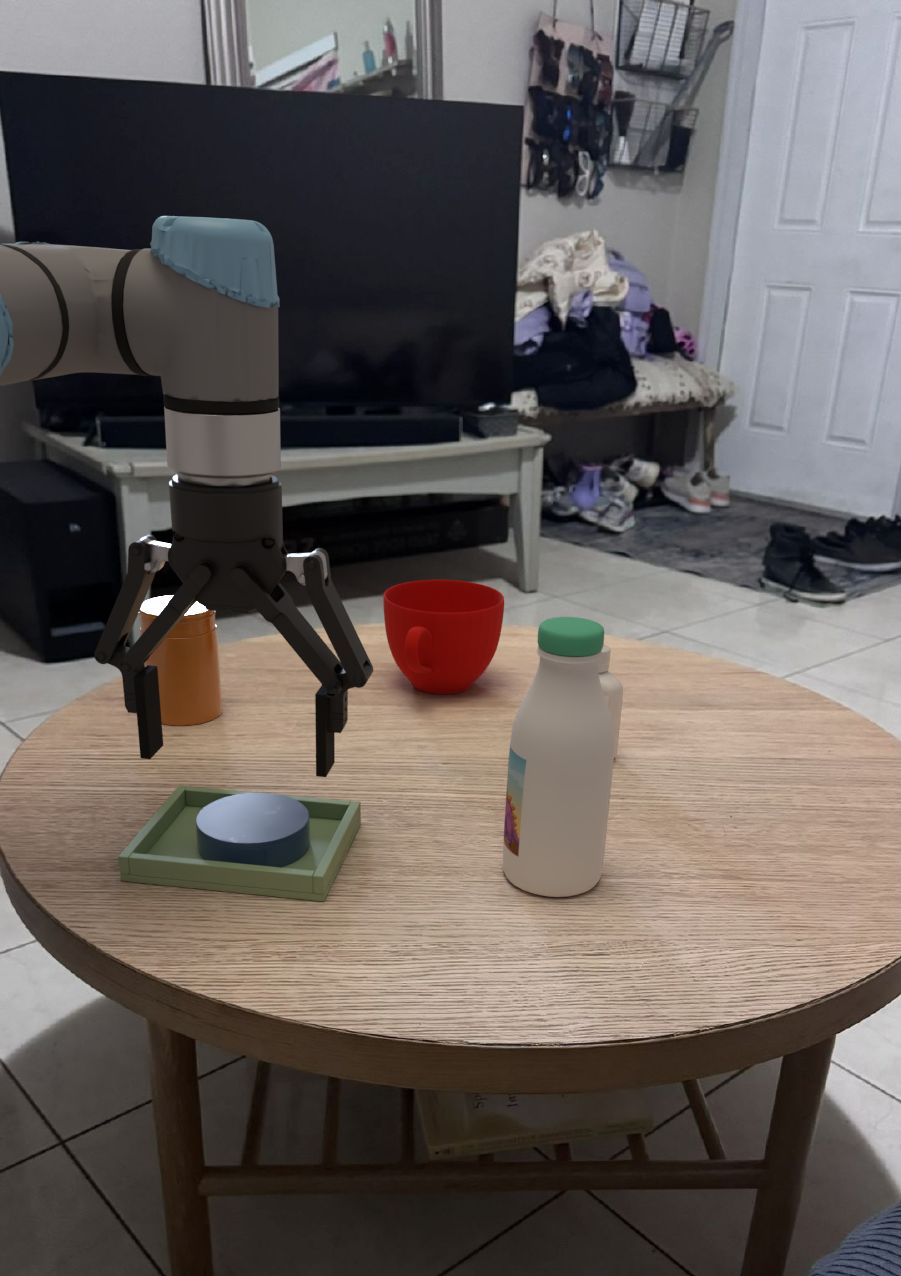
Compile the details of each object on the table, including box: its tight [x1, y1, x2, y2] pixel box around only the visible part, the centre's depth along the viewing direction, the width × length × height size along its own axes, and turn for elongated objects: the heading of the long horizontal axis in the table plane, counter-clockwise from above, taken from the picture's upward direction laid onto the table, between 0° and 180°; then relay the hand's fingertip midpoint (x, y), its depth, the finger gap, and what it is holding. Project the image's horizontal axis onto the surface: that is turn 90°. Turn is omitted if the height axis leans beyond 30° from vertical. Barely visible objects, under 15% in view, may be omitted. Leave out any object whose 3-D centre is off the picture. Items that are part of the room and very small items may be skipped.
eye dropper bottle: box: [598, 642, 624, 759], centre depth 105 cm, size 4×6×12 cm
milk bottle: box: [502, 616, 615, 898], centre depth 82 cm, size 8×8×20 cm
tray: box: [117, 784, 362, 902], centre depth 88 cm, size 16×13×2 cm
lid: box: [196, 792, 310, 868], centre depth 87 cm, size 9×9×2 cm
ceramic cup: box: [382, 579, 505, 695], centre depth 120 cm, size 13×17×10 cm
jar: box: [138, 594, 223, 727], centre depth 112 cm, size 7×7×11 cm
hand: (238, 761), depth 85 cm, fingers open, 13 cm apart
